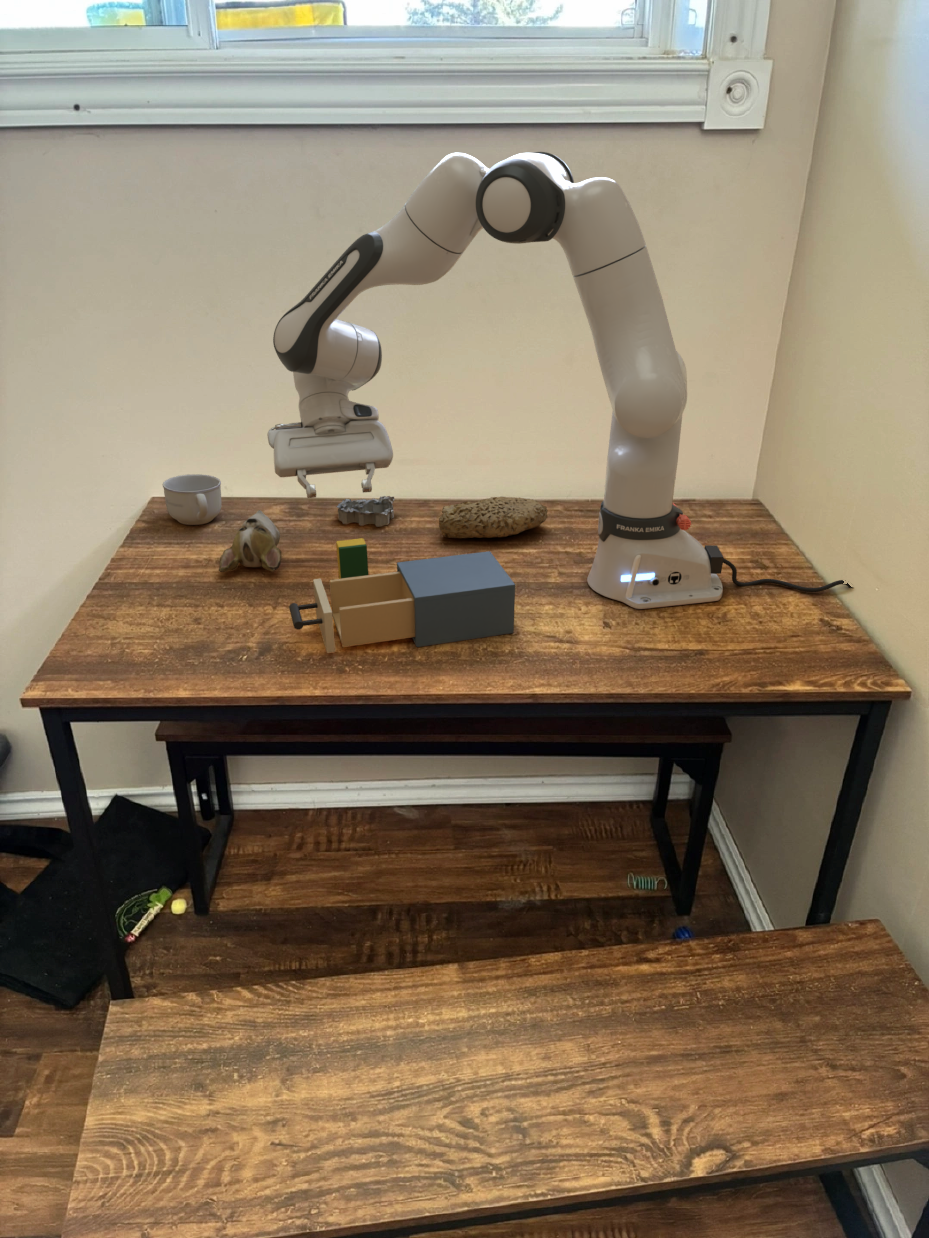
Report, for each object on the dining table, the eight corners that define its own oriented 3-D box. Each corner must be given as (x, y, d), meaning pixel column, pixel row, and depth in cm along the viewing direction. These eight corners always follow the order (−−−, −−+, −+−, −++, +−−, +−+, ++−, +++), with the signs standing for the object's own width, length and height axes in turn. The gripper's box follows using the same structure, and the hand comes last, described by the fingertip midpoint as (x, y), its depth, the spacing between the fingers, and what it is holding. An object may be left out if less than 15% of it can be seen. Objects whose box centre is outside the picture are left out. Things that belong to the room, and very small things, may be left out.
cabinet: (416, 647, 132) (415, 597, 128) (398, 609, 142) (396, 562, 138) (513, 633, 136) (515, 584, 131) (489, 597, 146) (490, 551, 142)
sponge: (441, 551, 164) (547, 536, 161) (433, 511, 162) (541, 494, 158) (452, 536, 177) (551, 521, 173) (445, 497, 174) (544, 481, 171)
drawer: (298, 657, 128) (294, 617, 124) (289, 621, 137) (285, 582, 134) (422, 639, 132) (421, 600, 129) (406, 605, 141) (404, 568, 138)
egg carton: (397, 515, 177) (397, 496, 175) (385, 529, 170) (384, 509, 168) (347, 509, 179) (346, 490, 177) (334, 523, 173) (332, 504, 171)
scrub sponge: (366, 586, 149) (363, 537, 145) (369, 595, 146) (366, 545, 142) (339, 590, 148) (336, 541, 144) (342, 598, 145) (339, 548, 141)
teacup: (168, 512, 177) (162, 474, 174) (223, 506, 180) (218, 469, 176) (169, 539, 166) (162, 499, 162) (228, 532, 169) (223, 493, 165)
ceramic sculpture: (288, 501, 159) (273, 540, 146) (293, 544, 164) (280, 585, 151) (229, 502, 159) (209, 540, 146) (236, 544, 164) (217, 585, 151)
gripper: (265, 416, 146) (277, 491, 143) (386, 407, 151) (400, 480, 148) (266, 434, 152) (277, 507, 149) (382, 425, 157) (395, 495, 154)
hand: (339, 493), depth 149 cm, fingers open, 8 cm apart
